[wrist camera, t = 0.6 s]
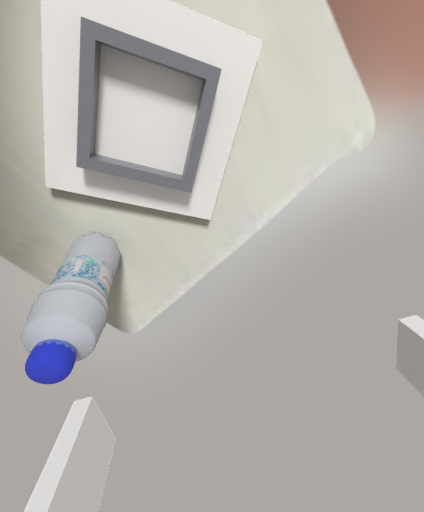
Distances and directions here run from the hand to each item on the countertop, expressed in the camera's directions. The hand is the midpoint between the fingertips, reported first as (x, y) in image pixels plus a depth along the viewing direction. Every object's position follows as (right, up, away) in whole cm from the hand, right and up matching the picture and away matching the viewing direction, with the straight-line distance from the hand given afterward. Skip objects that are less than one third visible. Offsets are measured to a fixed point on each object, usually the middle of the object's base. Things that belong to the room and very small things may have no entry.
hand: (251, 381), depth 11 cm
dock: (-9, +21, +18) cm, 29 cm away
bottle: (-18, +7, +26) cm, 32 cm away
